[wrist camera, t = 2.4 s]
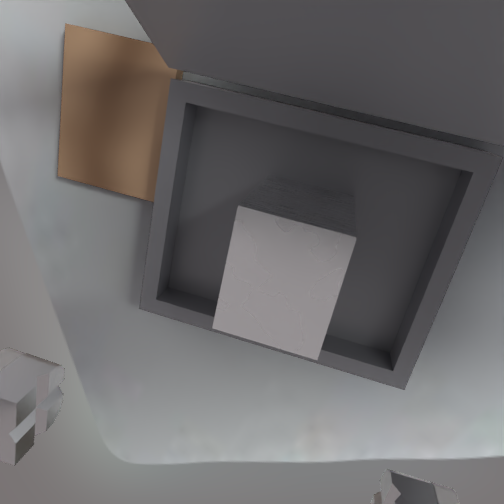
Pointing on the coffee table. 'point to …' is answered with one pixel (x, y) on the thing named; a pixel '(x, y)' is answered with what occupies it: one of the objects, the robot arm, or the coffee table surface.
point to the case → (326, 177)
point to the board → (112, 111)
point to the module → (286, 265)
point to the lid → (348, 54)
